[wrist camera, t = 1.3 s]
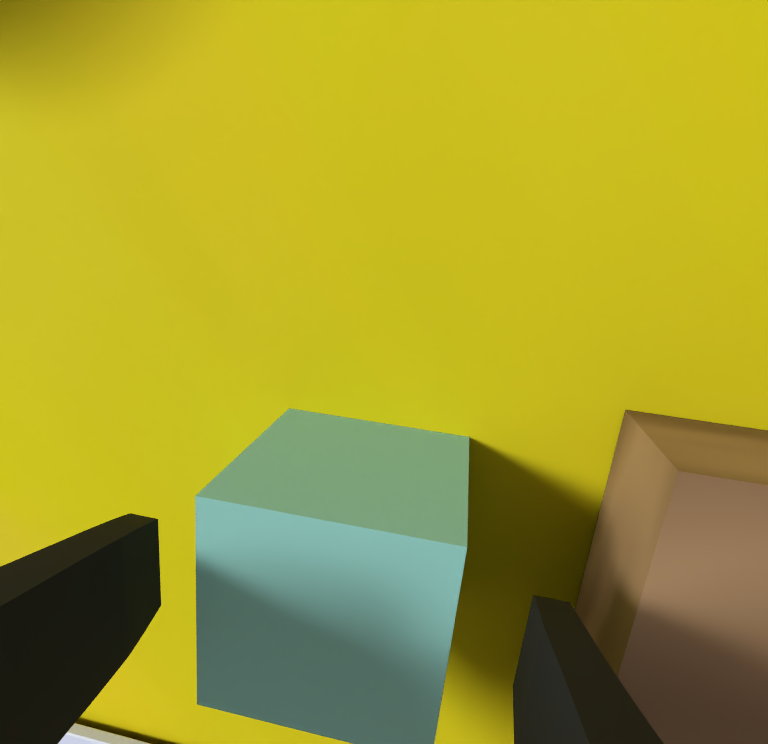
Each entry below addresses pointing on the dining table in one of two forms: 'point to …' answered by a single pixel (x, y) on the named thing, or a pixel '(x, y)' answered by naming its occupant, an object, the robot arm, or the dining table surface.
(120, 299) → the dining table surface
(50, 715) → the robot arm
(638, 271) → the dining table surface
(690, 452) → the walnut base
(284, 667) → the teal cube
